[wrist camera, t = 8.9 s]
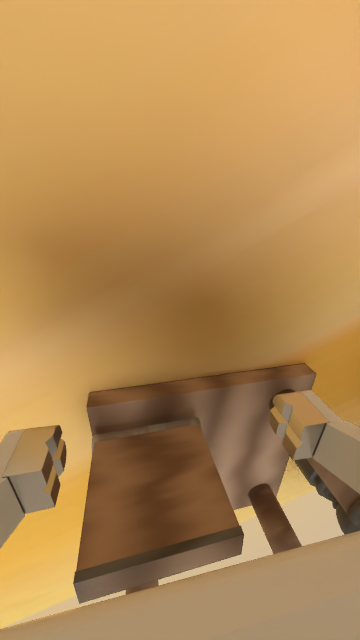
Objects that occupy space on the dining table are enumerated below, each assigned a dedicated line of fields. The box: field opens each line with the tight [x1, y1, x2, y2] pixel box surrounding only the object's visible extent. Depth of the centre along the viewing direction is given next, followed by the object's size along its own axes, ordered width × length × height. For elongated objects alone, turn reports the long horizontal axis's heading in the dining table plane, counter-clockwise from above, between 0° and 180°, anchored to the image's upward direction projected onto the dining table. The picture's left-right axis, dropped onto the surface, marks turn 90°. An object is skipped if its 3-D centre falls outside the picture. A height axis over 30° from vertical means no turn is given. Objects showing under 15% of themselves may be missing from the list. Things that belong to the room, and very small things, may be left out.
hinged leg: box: [73, 417, 244, 603], centre depth 19 cm, size 10×2×11 cm, turn 89°
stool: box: [87, 363, 360, 595], centre depth 26 cm, size 25×25×14 cm
